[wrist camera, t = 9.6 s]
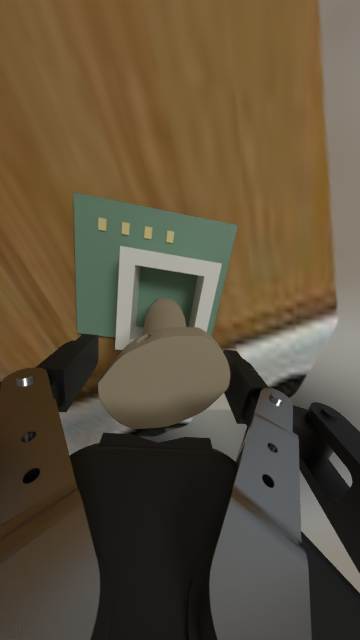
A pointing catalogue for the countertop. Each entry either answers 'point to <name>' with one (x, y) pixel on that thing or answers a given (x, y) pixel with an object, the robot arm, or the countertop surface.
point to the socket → (136, 258)
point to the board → (146, 234)
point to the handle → (164, 372)
